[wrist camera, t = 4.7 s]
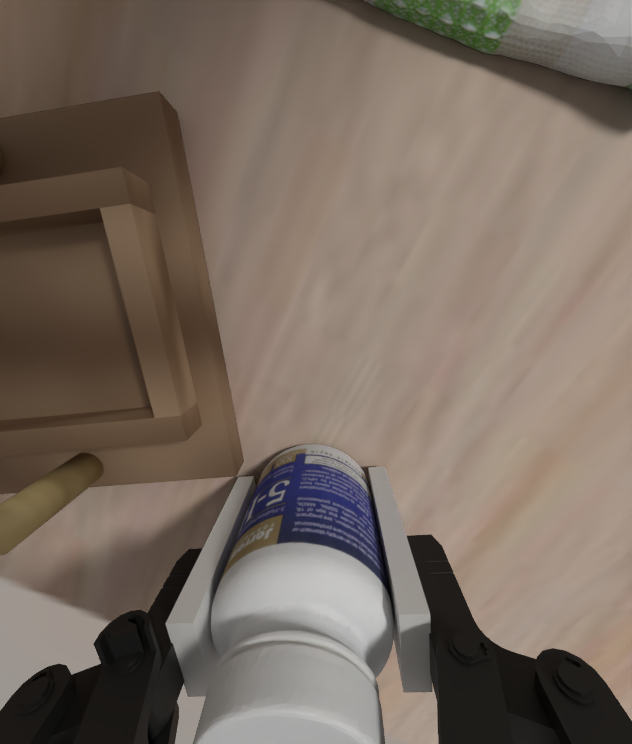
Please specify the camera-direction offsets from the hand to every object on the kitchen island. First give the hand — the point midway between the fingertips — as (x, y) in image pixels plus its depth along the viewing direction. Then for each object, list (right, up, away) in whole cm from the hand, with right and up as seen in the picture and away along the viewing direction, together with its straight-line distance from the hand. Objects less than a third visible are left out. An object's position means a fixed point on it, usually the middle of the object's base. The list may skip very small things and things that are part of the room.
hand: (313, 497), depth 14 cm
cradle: (-11, +8, -1) cm, 13 cm away
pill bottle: (0, 0, 0) cm, 0 cm away
